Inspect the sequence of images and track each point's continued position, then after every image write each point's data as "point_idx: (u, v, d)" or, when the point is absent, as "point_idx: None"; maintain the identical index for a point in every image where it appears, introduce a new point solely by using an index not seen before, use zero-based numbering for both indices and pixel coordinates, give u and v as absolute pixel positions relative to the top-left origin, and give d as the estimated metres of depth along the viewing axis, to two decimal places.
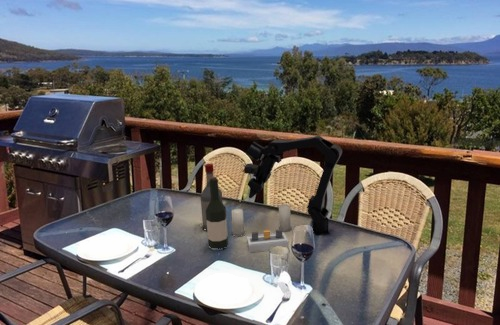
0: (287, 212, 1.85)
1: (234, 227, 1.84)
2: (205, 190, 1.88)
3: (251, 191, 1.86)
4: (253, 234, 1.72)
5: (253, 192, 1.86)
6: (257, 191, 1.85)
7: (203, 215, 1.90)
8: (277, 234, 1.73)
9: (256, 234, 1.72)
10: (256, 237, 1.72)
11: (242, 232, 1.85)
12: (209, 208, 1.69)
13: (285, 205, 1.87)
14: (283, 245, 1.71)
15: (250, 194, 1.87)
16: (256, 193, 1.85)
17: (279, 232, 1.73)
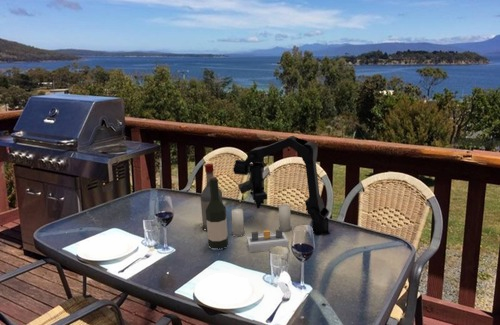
0: (287, 212, 1.85)
1: (234, 227, 1.84)
2: (205, 190, 1.88)
3: (257, 201, 1.93)
4: (253, 234, 1.72)
5: (259, 201, 1.93)
6: None
7: (203, 215, 1.90)
8: (277, 234, 1.73)
9: (256, 234, 1.72)
10: (256, 237, 1.72)
11: (242, 232, 1.85)
12: (209, 208, 1.69)
13: (285, 205, 1.87)
14: (283, 245, 1.71)
15: (257, 204, 1.94)
16: (262, 200, 1.93)
17: (279, 232, 1.73)
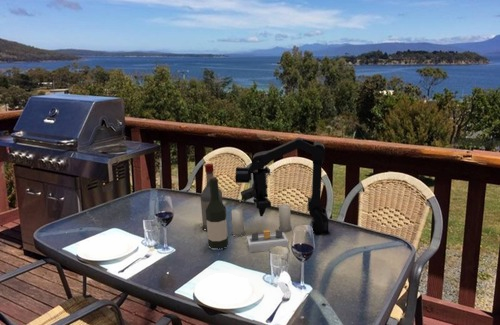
0: (287, 212, 1.85)
1: (234, 227, 1.84)
2: (205, 190, 1.88)
3: (260, 209, 1.84)
4: (253, 234, 1.72)
5: (262, 208, 1.84)
6: None
7: (203, 215, 1.90)
8: (277, 234, 1.73)
9: (256, 234, 1.72)
10: (256, 237, 1.72)
11: (242, 232, 1.85)
12: (209, 208, 1.69)
13: (285, 205, 1.87)
14: (283, 245, 1.71)
15: (260, 212, 1.85)
16: (265, 208, 1.84)
17: (279, 232, 1.73)
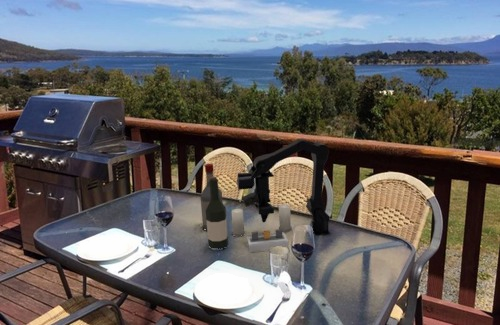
0: (287, 212, 1.85)
1: (234, 227, 1.84)
2: (205, 190, 1.88)
3: (262, 214, 1.77)
4: (253, 234, 1.72)
5: (265, 214, 1.77)
6: None
7: (203, 215, 1.90)
8: (277, 234, 1.73)
9: (256, 234, 1.72)
10: (256, 237, 1.72)
11: (242, 232, 1.85)
12: (209, 208, 1.69)
13: (285, 205, 1.87)
14: (283, 245, 1.71)
15: (263, 218, 1.78)
16: (268, 213, 1.77)
17: (279, 232, 1.73)
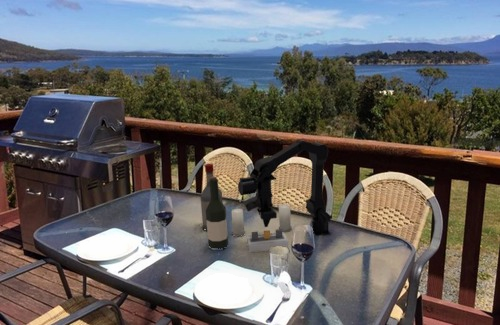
0: (287, 212, 1.85)
1: (234, 227, 1.84)
2: (205, 190, 1.88)
3: (265, 219, 1.72)
4: (253, 234, 1.72)
5: (267, 219, 1.72)
6: None
7: (203, 215, 1.90)
8: (277, 234, 1.73)
9: (256, 234, 1.72)
10: (256, 237, 1.72)
11: (242, 232, 1.85)
12: (209, 208, 1.69)
13: (285, 205, 1.87)
14: (283, 245, 1.71)
15: (265, 223, 1.73)
16: None
17: (279, 232, 1.73)
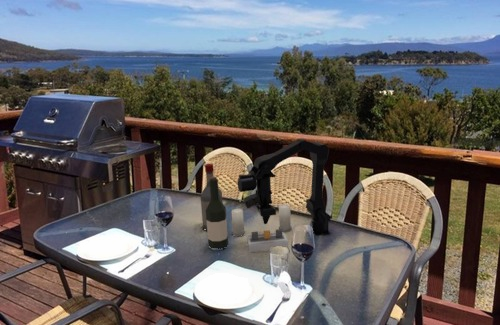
0: (287, 212, 1.85)
1: (234, 227, 1.84)
2: (205, 190, 1.88)
3: (264, 216, 1.73)
4: (253, 234, 1.72)
5: (266, 216, 1.73)
6: None
7: (203, 215, 1.90)
8: (277, 234, 1.73)
9: (256, 234, 1.72)
10: (256, 237, 1.72)
11: (242, 232, 1.85)
12: (209, 208, 1.69)
13: (285, 205, 1.87)
14: (283, 245, 1.71)
15: (264, 220, 1.74)
16: None
17: (279, 232, 1.73)
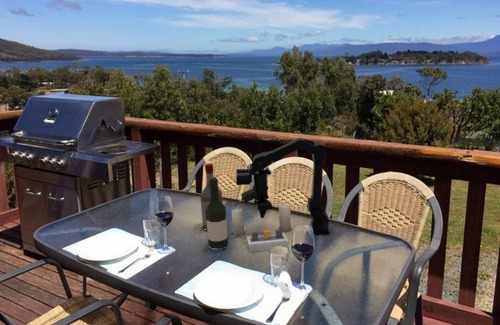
0: (287, 212, 1.85)
1: (234, 227, 1.84)
2: (205, 190, 1.88)
3: (261, 211, 1.81)
4: (253, 234, 1.72)
5: (263, 210, 1.82)
6: None
7: (203, 215, 1.90)
8: (277, 234, 1.73)
9: (256, 234, 1.72)
10: (256, 237, 1.72)
11: (242, 232, 1.85)
12: (209, 208, 1.69)
13: (285, 205, 1.87)
14: (283, 245, 1.71)
15: (261, 214, 1.82)
16: (266, 209, 1.81)
17: (279, 232, 1.73)
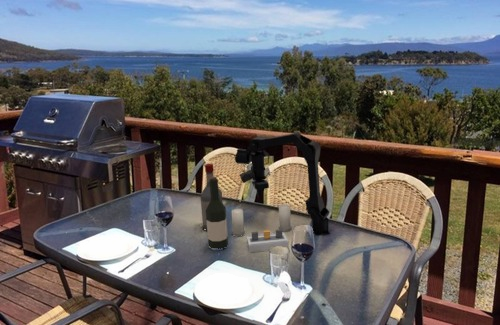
0: (287, 212, 1.85)
1: (234, 227, 1.84)
2: (205, 190, 1.88)
3: (258, 190, 1.92)
4: (253, 234, 1.72)
5: (260, 190, 1.92)
6: None
7: (203, 215, 1.90)
8: (277, 234, 1.73)
9: (256, 234, 1.72)
10: (256, 237, 1.72)
11: (242, 232, 1.85)
12: (209, 208, 1.69)
13: (285, 205, 1.87)
14: (283, 245, 1.71)
15: (259, 194, 1.93)
16: (263, 189, 1.92)
17: (279, 232, 1.73)
